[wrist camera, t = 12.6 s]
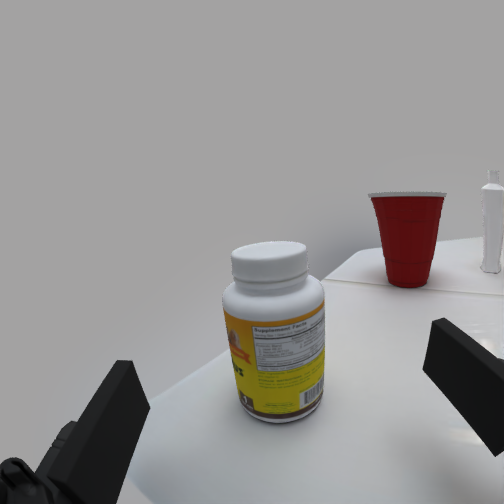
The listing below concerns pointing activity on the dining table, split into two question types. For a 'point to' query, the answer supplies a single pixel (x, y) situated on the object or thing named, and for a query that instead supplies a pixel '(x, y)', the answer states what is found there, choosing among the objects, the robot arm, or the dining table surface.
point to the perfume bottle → (492, 222)
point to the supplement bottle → (276, 330)
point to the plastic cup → (408, 233)
